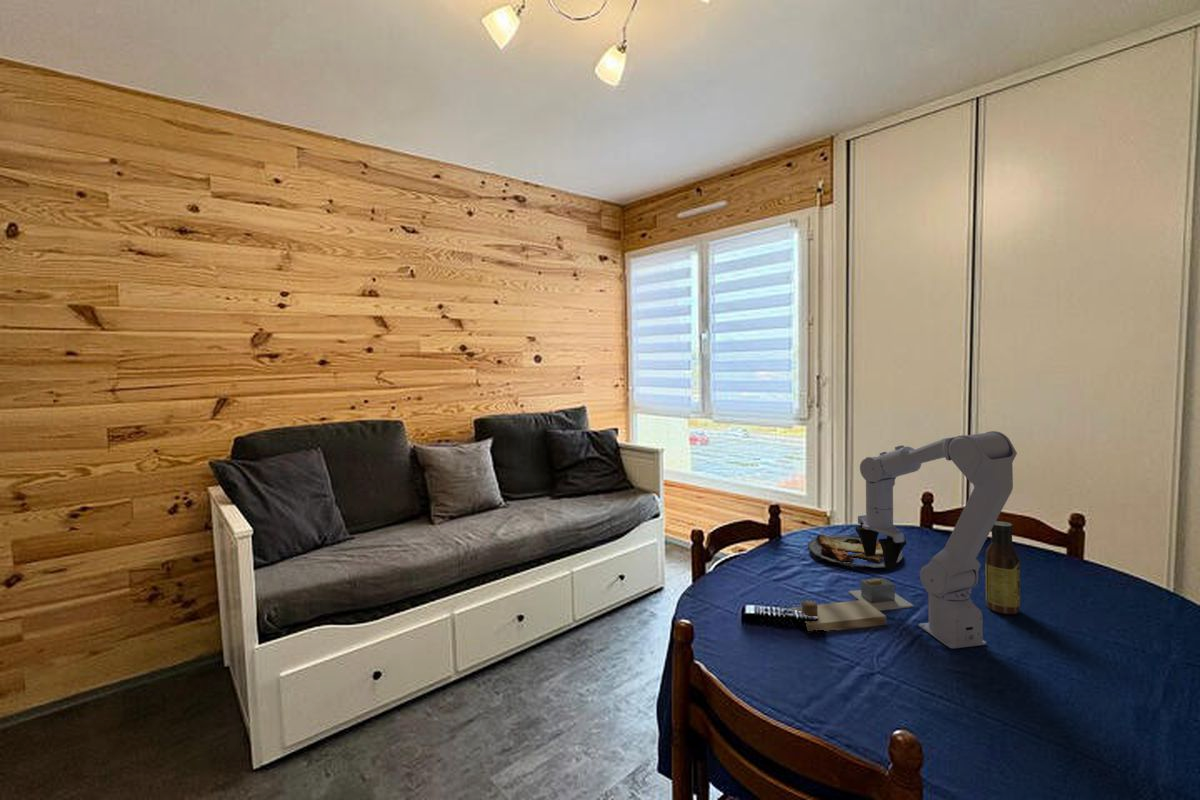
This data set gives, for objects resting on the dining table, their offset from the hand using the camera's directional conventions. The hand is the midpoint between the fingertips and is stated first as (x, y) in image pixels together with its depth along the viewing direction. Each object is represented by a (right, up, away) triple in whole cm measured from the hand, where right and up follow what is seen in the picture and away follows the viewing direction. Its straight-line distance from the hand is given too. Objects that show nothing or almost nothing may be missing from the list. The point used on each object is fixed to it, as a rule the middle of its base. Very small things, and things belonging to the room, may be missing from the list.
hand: (879, 561), depth 129 cm
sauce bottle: (+24, -9, -7) cm, 27 cm away
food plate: (+7, -7, +29) cm, 30 cm away
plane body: (-14, -11, -8) cm, 19 cm away
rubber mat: (0, -9, +1) cm, 9 cm away
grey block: (0, -9, +1) cm, 9 cm away
